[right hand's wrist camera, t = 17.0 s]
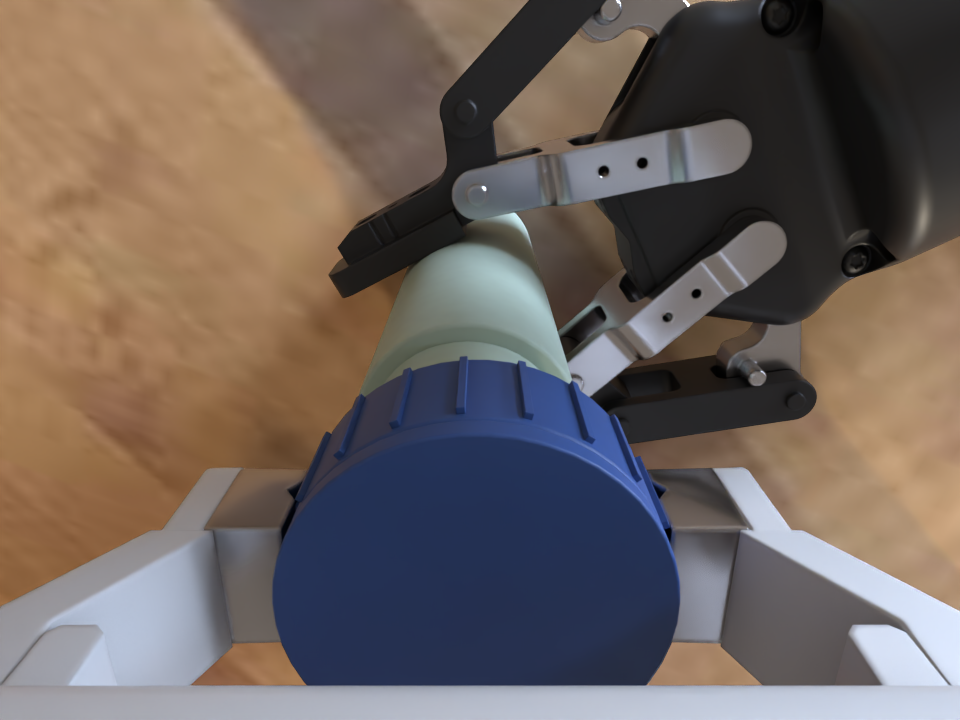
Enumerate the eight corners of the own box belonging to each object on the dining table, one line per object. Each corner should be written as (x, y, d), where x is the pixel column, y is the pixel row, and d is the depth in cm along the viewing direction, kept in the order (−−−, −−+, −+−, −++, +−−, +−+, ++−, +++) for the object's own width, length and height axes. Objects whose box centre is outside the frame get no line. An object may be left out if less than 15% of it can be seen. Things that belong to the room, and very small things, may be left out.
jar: (547, 282, 25) (633, 551, 11) (445, 322, 25) (400, 627, 11) (506, 177, 23) (544, 328, 9) (399, 222, 24) (283, 428, 10)
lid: (457, 280, 9) (451, 338, 7) (714, 494, 10) (774, 598, 8) (244, 522, 10) (184, 630, 8) (492, 685, 12) (494, 813, 9)
